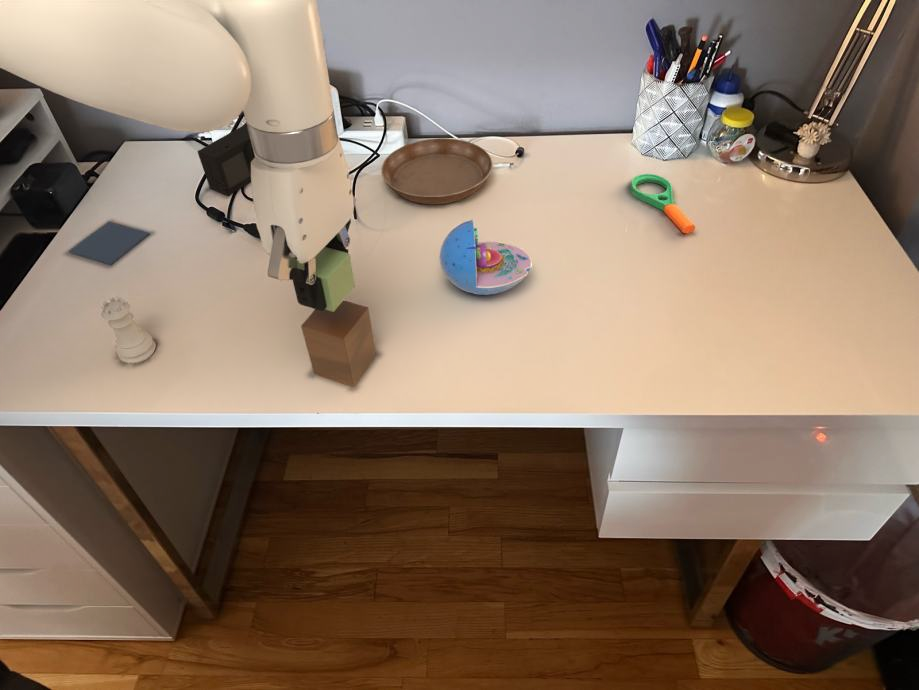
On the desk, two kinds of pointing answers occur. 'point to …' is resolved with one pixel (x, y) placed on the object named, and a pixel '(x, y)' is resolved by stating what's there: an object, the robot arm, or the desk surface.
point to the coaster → (109, 243)
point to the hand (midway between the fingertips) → (325, 289)
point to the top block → (333, 275)
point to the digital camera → (228, 161)
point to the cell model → (481, 262)
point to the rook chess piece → (127, 332)
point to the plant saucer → (437, 170)
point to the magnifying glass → (658, 202)
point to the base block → (340, 342)
